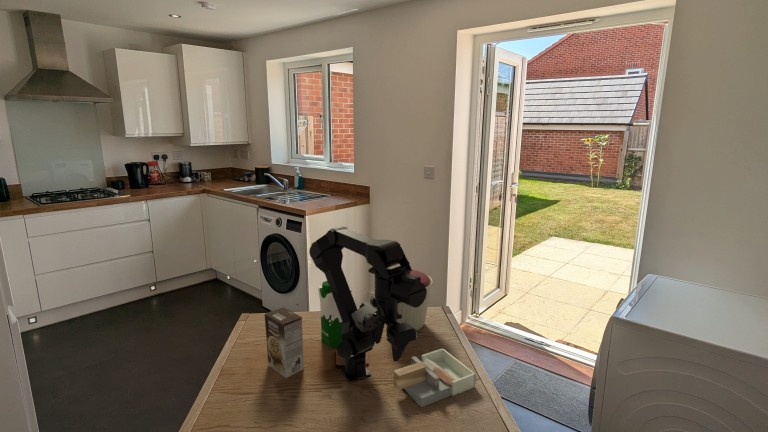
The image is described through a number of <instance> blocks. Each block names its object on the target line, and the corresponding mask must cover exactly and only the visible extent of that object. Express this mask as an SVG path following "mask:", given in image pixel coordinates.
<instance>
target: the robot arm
mask: <svg viewBox="0 0 768 432" xmlns="http://www.w3.org/2000/svg"><path fill="white" fill-rule="evenodd" d="M344 248H345V249H347V250H350V251H352V252H354V253H356V254H358V255H361V256H363V257H364V258H365V260H366V262H367V264H368V265H370V266H371V267H369V269H368V271H367V272H368V273H370V274H372V275H374V295H371V297H370V300H368V301H365V302H361V304H360V305H359V309H358V307H357V304H356V302H355V299H354V296H353V294H352V293H351V291H350V289H351V287H350V286H349V283H348V281H347V277H346V276H345V273H344V272H345V271H344V270H343V267H342V264H343V258H344V254H343V251H342V250H344ZM308 251H309V252H308V253H309V257H310V258H311V259H312V262H313V263H314V265H315V268H317V269H318V270H320V271H321V272H322V273H323V274H324V276H325V278H326V281H328V284H329V287H330V290H331V292H332V295H333V298H334V300H335V303H336V306H337V308H338V311H339V314H340V316H341V319H342V322H343V326H342V332H341V337H342V341H343V342H342V343H341V344H340V345H339V346H337V347H336V348H335V349H336V352H337V356H339V357H340V358H342V359H343V360H344V366H342V367H341V368H340V372H341V373H342V374H343V375H344V377H345V378H346V379H347V381H348V382H354V381H357V380H359V379H360V380H361V379H362V378H366V377H369V376H371V375H372V374H371V371H370V370H369V369H368V368H367V365H366V362H367V360H366V359H367V357H366V354H367V352H369V351H370V352H371V351H373V348H374V346H375V344H376V345H378V344H380V343H381V341H382V338H383V337H382V336H383V334H384V328H385V325H386V326H387V330H386V337H387V338H386V339H385V340H386V341H387V342H388V343H389V344H390V345H391V352H392V359H393V362H394V363H396V362H398V361H399V360H400V359H401V357H402V355H403V353H404V351H405V349H406V348H407V346H408V345H409V344H410V342H413V341H416V340H418V339H417V338H418V330H416V329H414V328H413V327H412V326H411V325H409V324H408V323H407V322H404V323H401V324H400V323H399V322H397V319H401V318H402V314H401V313H399V312H398V303H405V304H407V305H409V306H412V307H414V308H416V307H419V306H420V305H421V304H422V303H423V302H424V300H425V298H426V294H427V289H426V287H425V285H424V284H423V283H421V278H420V277H419V276H414V275H411V274H408V272H410V271H412V270H413V269H412V267H411V264H410V261H409V260H408V258H407V256H406V253H405V252H404V250H403V247H402V246H401V244H400V242H398V241H397V240H392V239H375V238H371V237H370V236H366V235H365V234H364V235H363V234H362V233H360V232H357V231H354V230H351V229H349V228H348V227H347V226H343V225H342V226H339V227H332V228H330V230H327V232H326V233H325V234H323V235H322V236H321V237H319V238H318V239H316V240H315V241H313V242H312V243H311V244H310V247H309V250H308ZM397 265H398V266H397ZM393 266H395V267H393ZM391 267H393V268H391Z"/></svg>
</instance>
